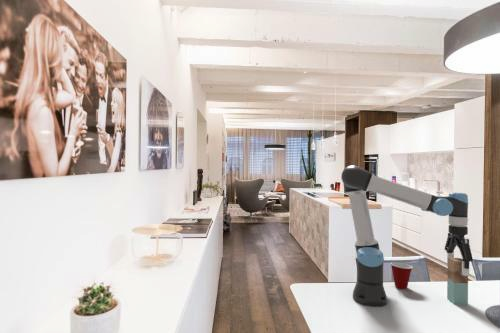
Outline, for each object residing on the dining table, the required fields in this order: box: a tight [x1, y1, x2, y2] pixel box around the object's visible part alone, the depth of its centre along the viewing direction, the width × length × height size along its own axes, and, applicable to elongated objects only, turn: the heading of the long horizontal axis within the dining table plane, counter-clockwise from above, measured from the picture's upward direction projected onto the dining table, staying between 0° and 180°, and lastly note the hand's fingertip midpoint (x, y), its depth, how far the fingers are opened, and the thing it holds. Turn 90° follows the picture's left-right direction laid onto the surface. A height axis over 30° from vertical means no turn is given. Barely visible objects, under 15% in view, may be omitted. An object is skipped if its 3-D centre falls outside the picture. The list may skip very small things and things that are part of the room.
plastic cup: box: [390, 262, 414, 290], centre depth 161 cm, size 11×11×12 cm
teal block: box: [446, 277, 469, 306], centre depth 143 cm, size 6×6×10 cm
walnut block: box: [446, 257, 469, 285], centre depth 143 cm, size 6×6×10 cm
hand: (457, 270), depth 143 cm, fingers open, 12 cm apart
